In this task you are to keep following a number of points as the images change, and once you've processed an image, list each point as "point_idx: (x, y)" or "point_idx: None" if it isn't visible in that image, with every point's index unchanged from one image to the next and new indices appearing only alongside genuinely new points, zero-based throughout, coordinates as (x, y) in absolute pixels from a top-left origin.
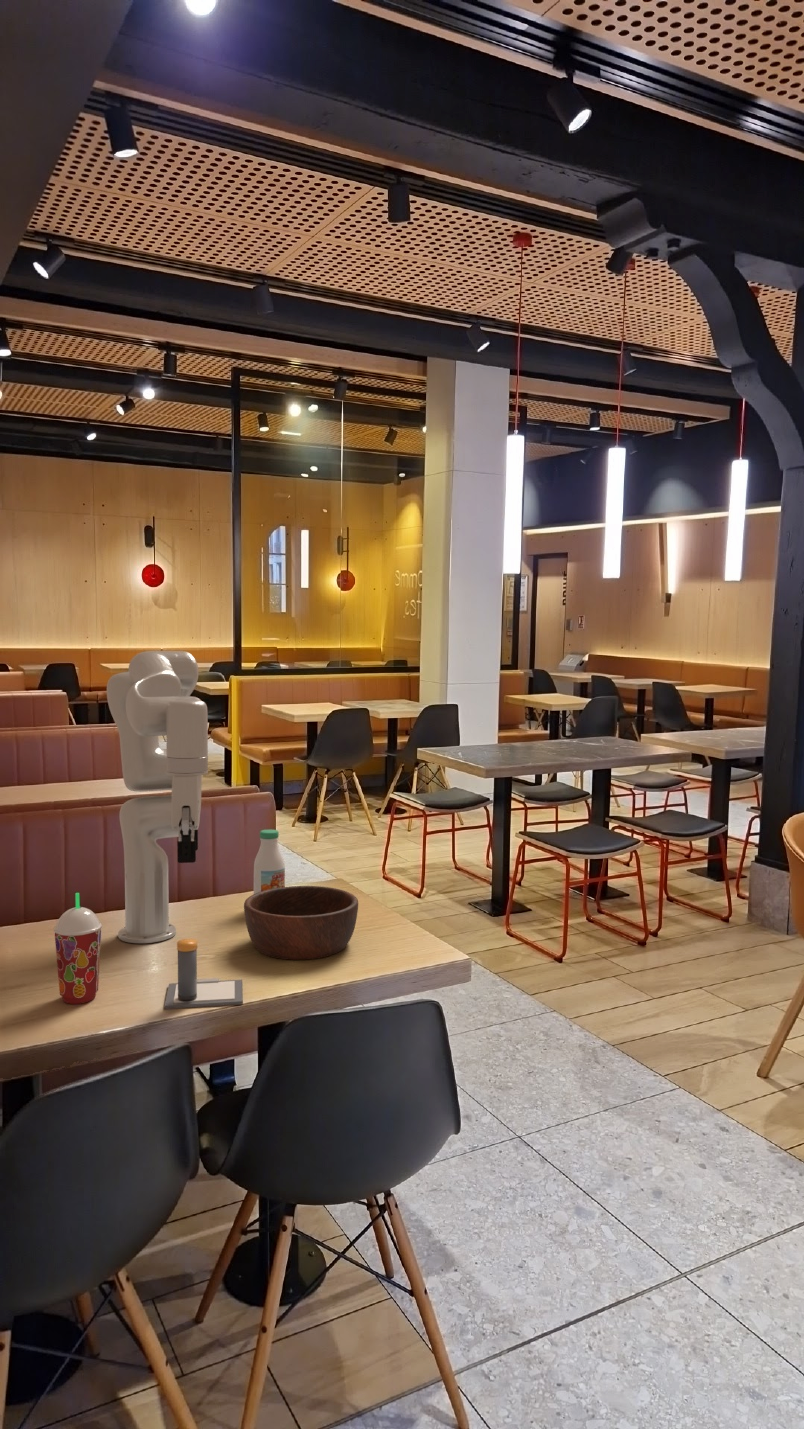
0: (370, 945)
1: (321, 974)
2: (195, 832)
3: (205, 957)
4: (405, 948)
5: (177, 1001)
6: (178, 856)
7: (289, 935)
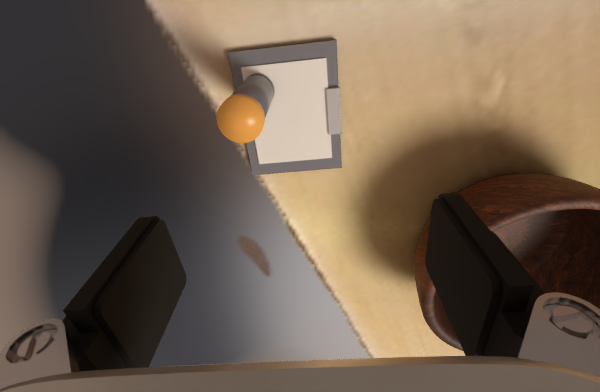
0: None
1: (359, 259)
2: (469, 348)
3: (485, 89)
4: (433, 337)
5: (242, 74)
6: (128, 238)
7: (422, 253)
